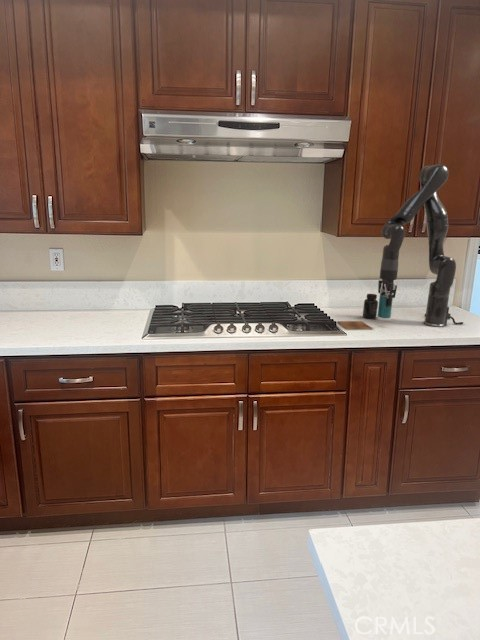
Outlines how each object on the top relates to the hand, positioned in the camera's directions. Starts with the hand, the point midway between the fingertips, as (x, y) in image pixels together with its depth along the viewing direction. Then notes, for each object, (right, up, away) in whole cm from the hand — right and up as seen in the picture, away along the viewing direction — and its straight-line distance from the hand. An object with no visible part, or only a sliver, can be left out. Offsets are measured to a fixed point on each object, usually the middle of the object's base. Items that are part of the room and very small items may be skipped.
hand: (385, 304), depth 214 cm
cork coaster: (-13, -10, +5) cm, 17 cm away
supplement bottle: (-1, -6, +21) cm, 22 cm away
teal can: (0, -6, +1) cm, 6 cm away
